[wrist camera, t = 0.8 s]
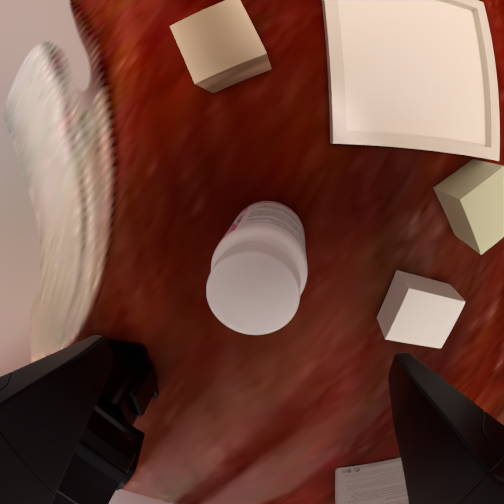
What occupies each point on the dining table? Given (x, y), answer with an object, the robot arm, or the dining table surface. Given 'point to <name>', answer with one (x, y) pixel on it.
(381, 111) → the tray
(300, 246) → the pill bottle
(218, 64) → the beech block
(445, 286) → the white block
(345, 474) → the supplement box
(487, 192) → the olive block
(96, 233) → the dining table surface
